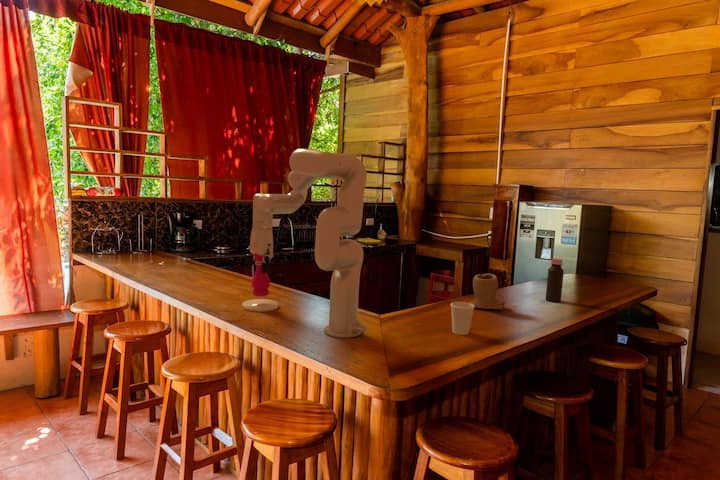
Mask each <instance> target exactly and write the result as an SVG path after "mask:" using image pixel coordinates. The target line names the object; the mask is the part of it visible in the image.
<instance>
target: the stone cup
mask: <svg viewBox="0 0 720 480" xmlns="http://www.w3.org/2000/svg"><path fill="white" fill-rule="evenodd" d="M498 288H499V279H498V277H497V275H495V274H494V273H483V274H481V273H479V274H476V275H474V277H473V278H472V289H473V293H474V299H473V300H472V299H471V301H469V302H468V303H470V304H473V305H474V306H475V307H474V309H475V308H476V309H484V310H485V309H486V310H497V311H499V310H500V311H502V310H503V309H504V308H505V304H506V301H504V300H497V299H496V296H497V291H498Z"/></svg>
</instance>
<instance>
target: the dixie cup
mask: <svg viewBox="0 0 720 480" xmlns="http://www.w3.org/2000/svg"><path fill="white" fill-rule="evenodd" d="M450 308H451V310H450V311H451V328H452V333H453V334H455V335H460V336H467V335H469V334H470V329H471V324H472V319H473V315H474V309H475V306H474V305H473V304H470V303H469V302H464V301H453V302H451V303H450Z"/></svg>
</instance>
